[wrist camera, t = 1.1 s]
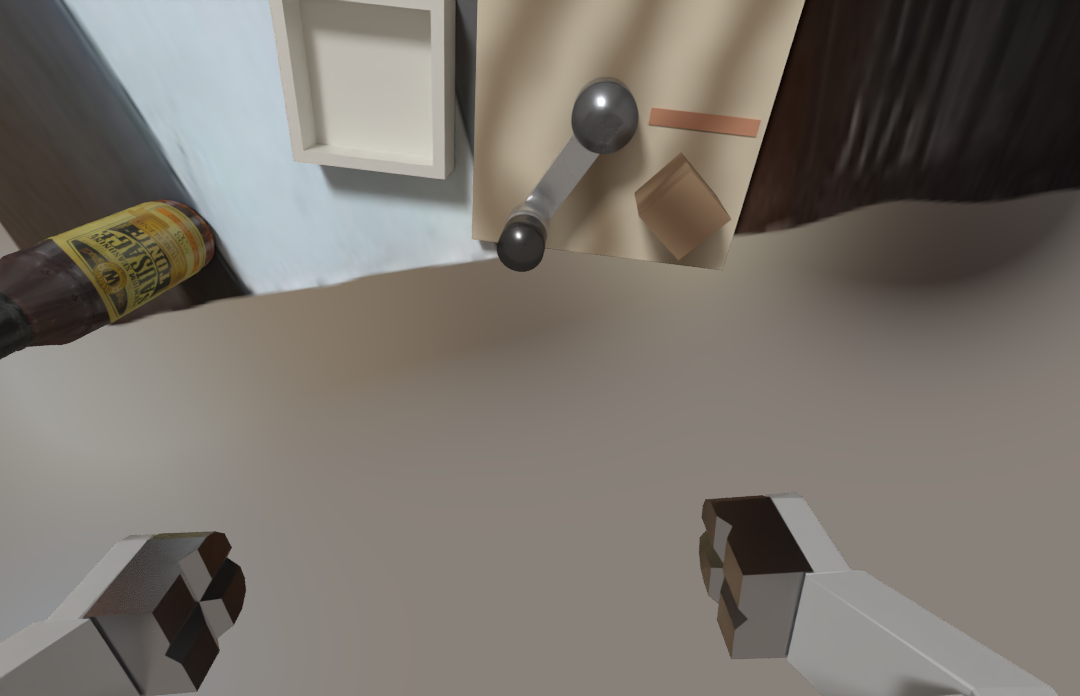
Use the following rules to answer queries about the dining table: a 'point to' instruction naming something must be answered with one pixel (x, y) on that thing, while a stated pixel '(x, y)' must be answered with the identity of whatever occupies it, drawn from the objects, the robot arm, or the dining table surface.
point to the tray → (369, 83)
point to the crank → (569, 167)
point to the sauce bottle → (98, 273)
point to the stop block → (680, 207)
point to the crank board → (662, 100)
